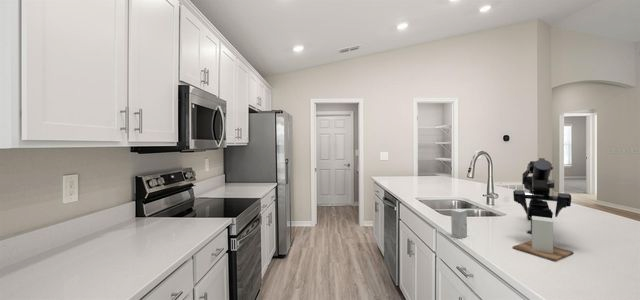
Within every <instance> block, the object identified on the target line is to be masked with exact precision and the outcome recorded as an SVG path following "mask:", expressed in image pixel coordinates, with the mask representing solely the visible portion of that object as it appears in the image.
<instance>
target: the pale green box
mask: <svg viewBox="0 0 640 300" xmlns="http://www.w3.org/2000/svg"><path fill="white" fill-rule="evenodd" d="M531 240H532V250H536V251H541V252H547V253H553V246H554V220H553V217H552V218H546V217H537V216H532V234H531Z"/></svg>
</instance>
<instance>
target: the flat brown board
mask: <svg viewBox="0 0 640 300" xmlns="http://www.w3.org/2000/svg"><path fill="white" fill-rule="evenodd" d="M512 250H516V251H519V252H523V253H525V254H530V255H533V256H536V257H538V258H541V259H545V260H548V261H551V262H554V261H555V262H558V261H560V260H562V259H565V258H568V257H570V256H573V255H574V251H572V250H569V249H564V248H561V247H557V246H554V245H553V253H547V252H541V251H536V250H532V239H531V240H528V241H526V242H522V243H520V244H519V243H518V244H517V245H513V246H512Z"/></svg>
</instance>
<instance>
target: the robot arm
mask: <svg viewBox="0 0 640 300" xmlns="http://www.w3.org/2000/svg"><path fill="white" fill-rule="evenodd" d="M552 165H553V164H552V163H551V162H550V161H549V160H546V159H545V158H544V157H542V158H541V157H539V158H538V159H537V160H533V161H529V163H528V164H527V167H526V170H525V171H524V172H523V173H522V180H521V183H522V185H523V186H524V189H526V190H528V192H529V193H526V192H525V190H520V189H519V190H518V189H515V190H513V201H514V202H515V203H517V204H520V206H522V209H523V210H524V212H525V214H526V219H527V221H530V230H527V231H526V232H527V233H529V234H531V235H532V216H537V217H546V218H552V219H553V215H555V218H557V217H558V215H559V213H560V212H561V210H563V209H564V208H565V209H566V208H567V207H571V206H572V205H571V204H572V194H570V193H567V192H566V193H565V192H564V193H563V192H557V195H550V191H551V189H555V180H554V179H549V177H550V175H551V172H552V170H553V169H554V167H553V166H552ZM529 174H530V175H531V176H529ZM527 199H528V200H529V203H528V204H527ZM548 201H549V202H556V205H555V206H556V207H555V211H554V212H555V213H554V212H553V211H552V209H550V206H549V204H548Z"/></svg>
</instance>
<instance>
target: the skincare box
mask: <svg viewBox="0 0 640 300" xmlns="http://www.w3.org/2000/svg"><path fill="white" fill-rule="evenodd" d="M467 216H468V215H467V209H462V208H455V209H451V211H450V218H451V236H452V237H453V238H456V239H462V238H465V237H467V236H468V222H467V220H468V219H467Z"/></svg>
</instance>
